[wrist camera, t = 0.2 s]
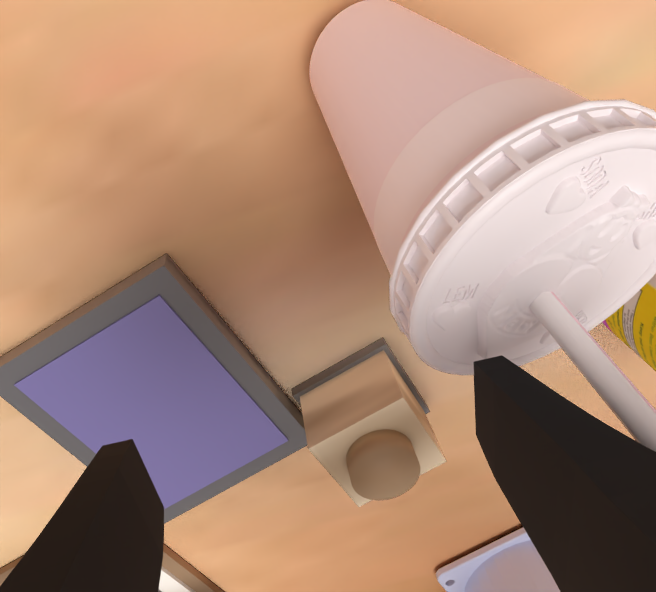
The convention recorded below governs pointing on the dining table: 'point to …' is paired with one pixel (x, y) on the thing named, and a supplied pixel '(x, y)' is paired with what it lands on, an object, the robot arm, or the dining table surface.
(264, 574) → the dining table surface
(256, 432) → the ink tray
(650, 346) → the supplement bottle
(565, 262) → the smoothie
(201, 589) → the clipboard
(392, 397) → the stamp
